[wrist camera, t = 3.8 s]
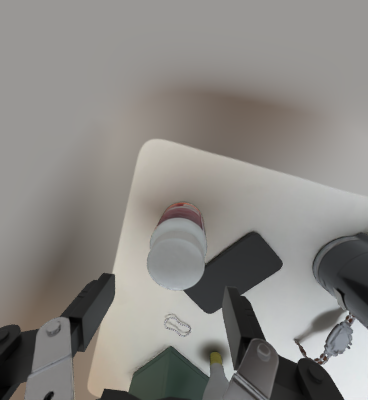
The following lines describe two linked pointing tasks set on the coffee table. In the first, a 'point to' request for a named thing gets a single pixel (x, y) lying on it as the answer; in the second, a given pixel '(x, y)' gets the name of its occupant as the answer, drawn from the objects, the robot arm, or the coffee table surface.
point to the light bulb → (216, 379)
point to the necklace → (180, 324)
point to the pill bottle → (178, 248)
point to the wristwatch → (335, 340)
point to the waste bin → (168, 378)
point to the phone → (234, 271)
